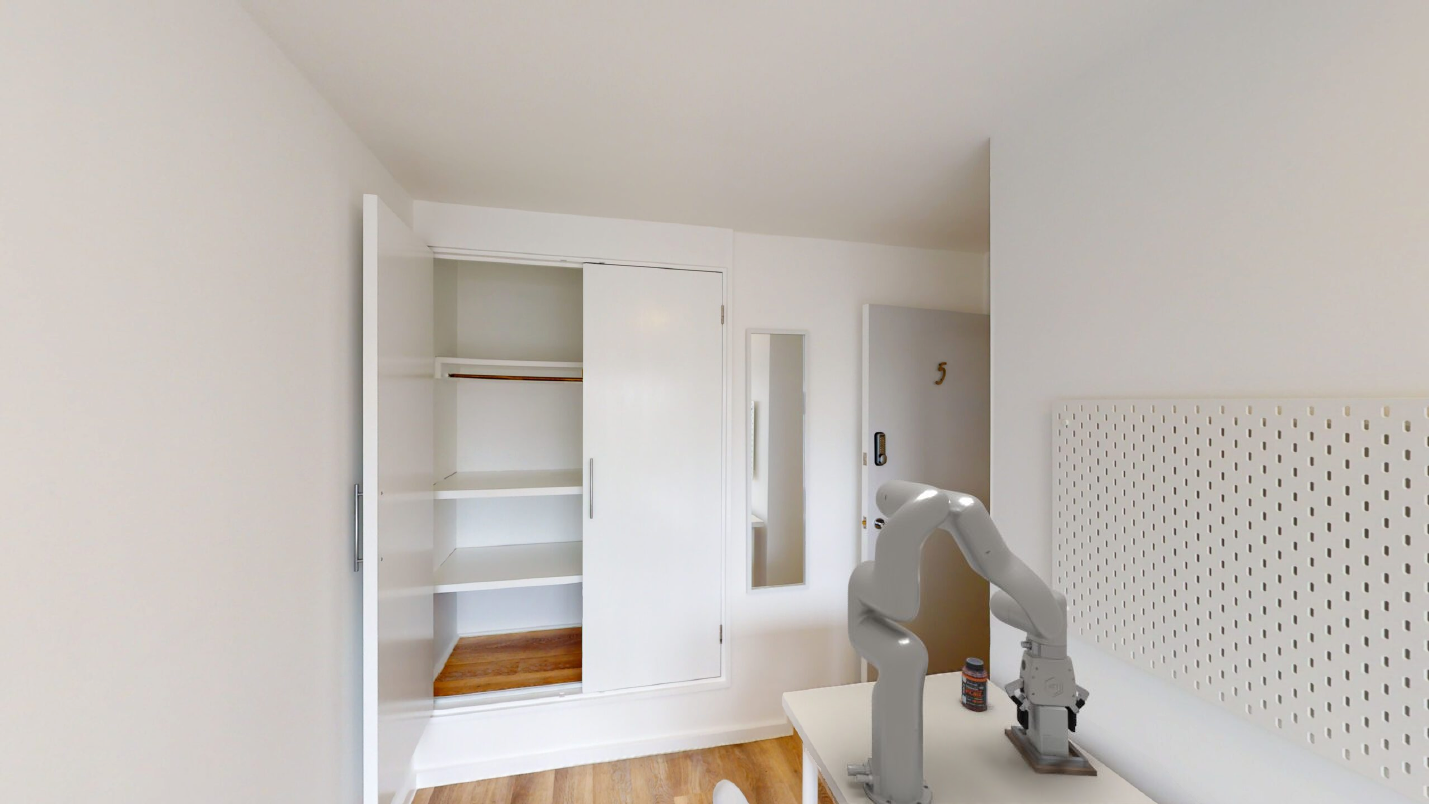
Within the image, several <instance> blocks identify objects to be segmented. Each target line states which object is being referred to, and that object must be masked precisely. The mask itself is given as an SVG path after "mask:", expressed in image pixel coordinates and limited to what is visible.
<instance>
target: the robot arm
mask: <svg viewBox="0 0 1429 804" xmlns="http://www.w3.org/2000/svg"><path fill="white" fill-rule="evenodd" d="M875 494H876V495H875V503H876V506H877V509H878V510H879V512H880V513H881V514H882V515H883V516H885V517H886V518H888V520H886V522H885V523H884V524H883V526H882V527H881V529H880V531H879V532H878V535H877V537H876V542H875V547H874V548H875V549H874V551H875V552H874V560H864V561H862V562H860V563H858V565H856V567H854V569H853V570H852V572H851V574H850V577H849V580H848V585H847V635H848V641H849V644H850V646H851V648H852V649H853V650H854V652H855V653H856V654H858V656H860V657H861V658H862V659H864V660H865V661H866V662H868V663H869V664H870V665H872V667H874V668H875V669H876V670H877V671H878V675H877V679H876V681H875V683H874V685H873V687H872V692H871V757H868V758H867V763H863V764H862V765H859V764H848V763H847V764H846V765H847V766H846V767H847V768H846V771H847V776H848V777H855V782H856V784H863V789H864V791H865V794H866V795H867V796H868V797H869V798H870V799H871V801H873V802H874V803H875V804H932V802H933V801H932V800H933V792H932V789H931V787H930V785H929V783H928V782H927V781H926V780H925V779H924V687H925V680H926V677H927V670H928V667H929V653H928V649H927V648H926V645H925V644H924V642H923V641H922V640H921V638H920V637H918V636H917V635H916V634H915V633H914V632H912V631H911V630H909V629H908V628H907V627H904V626H902V625H900V624H907V623H910V622H912V621H913V620H915V619H916V617H917V615H918V613H919V610H920V608H921V607H920V606H921V554H922V548H923V546H924V545H925V542H926V540H927V539H928V538H929V536H931V534H932V533H933V532H934V531H935V530H936V529H937V528H938V529H940V530H944V531H946V532H947V531H948V532H949V533H950V535H951V536H952V537H953V539H954V542H956V544H957V546H958V548H959V550H960V552H961V553H962V554H963V557H965V560H966V561H967V563H968V565H969V566H970V568H971V569H972V570H973V571H974V572H975V573H977V574H978V575H979V576H980V577H982V578H983V579H985V580H986V581H988V582H989V583H991V584H992V585H994V586H996V587H997V588H999V590H997V591H995V592H994V593H993V594H992V595H991V596H990V600H989V609H990V612H991V613H992V615H993V616H994V617H995V619H997V620H998V621H1000V622H1001V623H1004V624H1005V625H1008V626H1010V627H1013V628H1015V629H1017V630H1020V631H1022V632H1024V633H1026V636H1025V640H1023V641H1022V640H1021V641H1020V647H1021V648H1022V649H1024V650H1023V652H1022V657H1021V661H1020V667H1019V678H1017V679H1015V680H1013V681H1011V682H1009V683H1007V684H1005V685H1004V687H1003V688H1004V690H1005V692H1006V694H1007V696H1008V698H1009V699H1010V700H1011V701H1012V702H1013V703H1014V704H1015V706H1016V720H1017V723H1018V724H1019V726H1022V727H1023V728H1024V729H1025V730H1028V729H1029V712H1028V711H1027V710H1026V709H1027V708H1028V706H1029V705H1030V704H1031V703H1032V704H1035V705H1045V706H1064V707H1065V708H1066V709H1067V711H1068V731H1070V732H1071V733H1076V727H1077V726H1078V725H1077V724H1078V721H1077V717H1078V716H1077V715H1078V714H1080V710H1081V709H1082V708H1083V707H1084V706H1085V705H1086V701H1088V699H1089V696H1090V691H1088V690H1087V689H1086V688H1085V687H1082V686H1080V685H1079V684H1077V683H1076V675H1075V669H1074V666H1073V665H1074V664H1073V660H1072V658H1071V657H1070V656H1069V655H1068V643H1067V642H1068V641H1067V640H1068V602H1067V597H1066V596H1065V595H1064V594H1063V593H1062V592H1060V591H1057V590H1054V589H1051V588H1049V586H1048V585H1047V584H1046V582H1045V581H1044V580H1043V579H1042V578H1041V576H1039V575H1038V574H1036V572H1035V571H1034V570H1032V569H1031V567H1029V566H1028V565H1027V564H1026V563H1025V562H1024V561H1023V560H1022V559H1020V558H1019V557H1018V556H1017V555H1016V554H1014V553H1013V552H1012V551H1011V550H1010V549H1009V547H1008V545H1007V544H1006V541H1005V540H1004V538H1003V537H1002V535H1001V532H1000V531H999V529H998V528H997V526H996V524H995V522H994V521H993V519H992V517H991V515H990V514H989V512H988V509H986V507H985V505H984V503H983V502H982V501H981V500H980V499H979V498H978V497H976V496H974V495H971V494H969V493H965V492H960V491H954V490H948V489H943V488H939V487H937V486H934V485H931V484H930V485H929V484H926V483H925V484H924V483H920V482H914V481H913V482H912V481H906V480H902V479H890V480H887V481H885V482H883V483H882V484H880V486H879V487H878V488H877V491H876V493H875ZM899 623H900V624H899ZM1017 690H1019V692H1020V693H1019V694H1018V696H1016V693H1015V692H1016V691H1017ZM1077 693H1078V694H1077Z"/></svg>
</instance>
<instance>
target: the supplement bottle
mask: <svg viewBox="0 0 1429 804" xmlns="http://www.w3.org/2000/svg"><path fill="white" fill-rule="evenodd" d="M965 661H966V663H965V665H964V666H963V667H962V669H961V703H962V705H963V706H964V707H966V708H967V709H969V710H971V711H976V712H984V711H986V710H987V709H988V691H989V689H988V686H989V685H988V683H989V682H988V676H989V675H988V672H987V670H985V669H984V661H983V660H981V659H979V658H976V657H967V658H966V659H965Z"/></svg>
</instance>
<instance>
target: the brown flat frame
mask: <svg viewBox="0 0 1429 804" xmlns="http://www.w3.org/2000/svg"><path fill="white" fill-rule="evenodd" d="M1004 735H1005V736H1006V737H1007V739H1008V740H1009V741H1010V742H1011V744H1012V745H1013V746H1014V747H1015V749H1016V750H1017V751H1018V752H1019V754H1020V755H1021V756H1022V758H1023V759H1024V760H1025V762H1026V763H1027V764H1028V765H1029V767H1031V769H1032V770H1033V771H1034V773H1035V774H1048V775H1049V774H1050V775H1067V776H1069V775H1071V776H1087V775H1088V776H1087V777H1089V776H1090V777H1097V776H1098V770H1097V769H1096V768H1094V766H1093V765H1091V763H1090V760H1089V759H1088V758H1087V757H1086V756H1085V755H1084V754H1083V753H1082V752H1081V751H1080V750H1079V749H1078V748H1077V747H1076V746H1075V745H1074V744H1073V743H1072V742H1071V741H1070V740H1069V739H1068V752H1069V757H1061V756H1041V755H1040V754H1039V753H1038V752H1037V751H1036V749H1035V748H1034V747H1033V745H1032V744H1031V742H1030V741H1029V740H1028V738H1027V733H1026V730H1025V729H1024V728H1023V727H1022V726H1021V725H1010V729H1008V728H1004Z"/></svg>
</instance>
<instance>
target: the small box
mask: <svg viewBox="0 0 1429 804" xmlns="http://www.w3.org/2000/svg"><path fill="white" fill-rule="evenodd" d="M1026 710H1027V711H1028V712H1029V729H1028V730H1026V733H1027V738H1028V740H1029V741H1030V742H1031V744H1032V745H1033V747H1034V748H1035V749H1036V751H1037V752H1038V753H1039V754H1040V755H1041V756H1061V757H1069V752H1068V740H1069V729H1068V711H1067V709H1066V708H1065V707H1064V706H1045V705H1035V704H1032V703H1031V704H1030V705H1029V706H1028V708H1027V709H1026Z"/></svg>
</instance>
